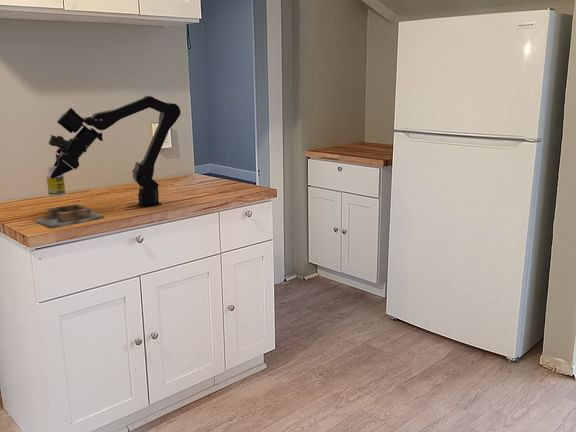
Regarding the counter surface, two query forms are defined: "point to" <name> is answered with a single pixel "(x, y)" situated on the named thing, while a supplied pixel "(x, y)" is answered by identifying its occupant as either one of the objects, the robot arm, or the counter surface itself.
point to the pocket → (67, 216)
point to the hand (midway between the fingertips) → (50, 176)
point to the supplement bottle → (55, 183)
